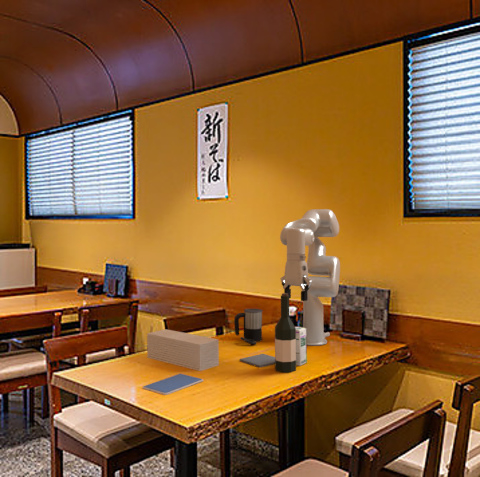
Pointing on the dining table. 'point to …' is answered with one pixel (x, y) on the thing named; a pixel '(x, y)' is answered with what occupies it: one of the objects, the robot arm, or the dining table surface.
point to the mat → (259, 360)
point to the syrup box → (301, 346)
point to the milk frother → (250, 325)
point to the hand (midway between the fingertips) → (295, 299)
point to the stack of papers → (183, 349)
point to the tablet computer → (172, 384)
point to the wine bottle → (285, 340)
